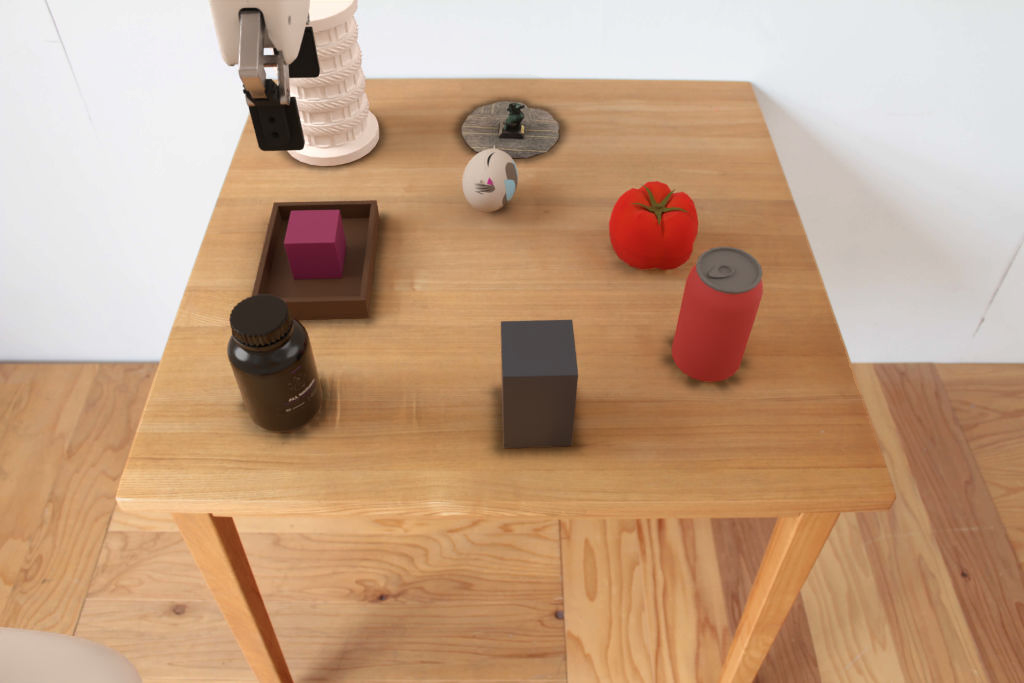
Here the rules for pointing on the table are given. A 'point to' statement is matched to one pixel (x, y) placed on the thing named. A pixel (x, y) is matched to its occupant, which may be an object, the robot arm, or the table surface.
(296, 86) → the white tower model
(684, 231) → the tomato
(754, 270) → the beer can
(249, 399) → the supplement bottle
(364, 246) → the tray
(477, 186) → the figurine
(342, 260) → the top block
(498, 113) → the sculpture
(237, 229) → the table surface
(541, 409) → the bottom block
